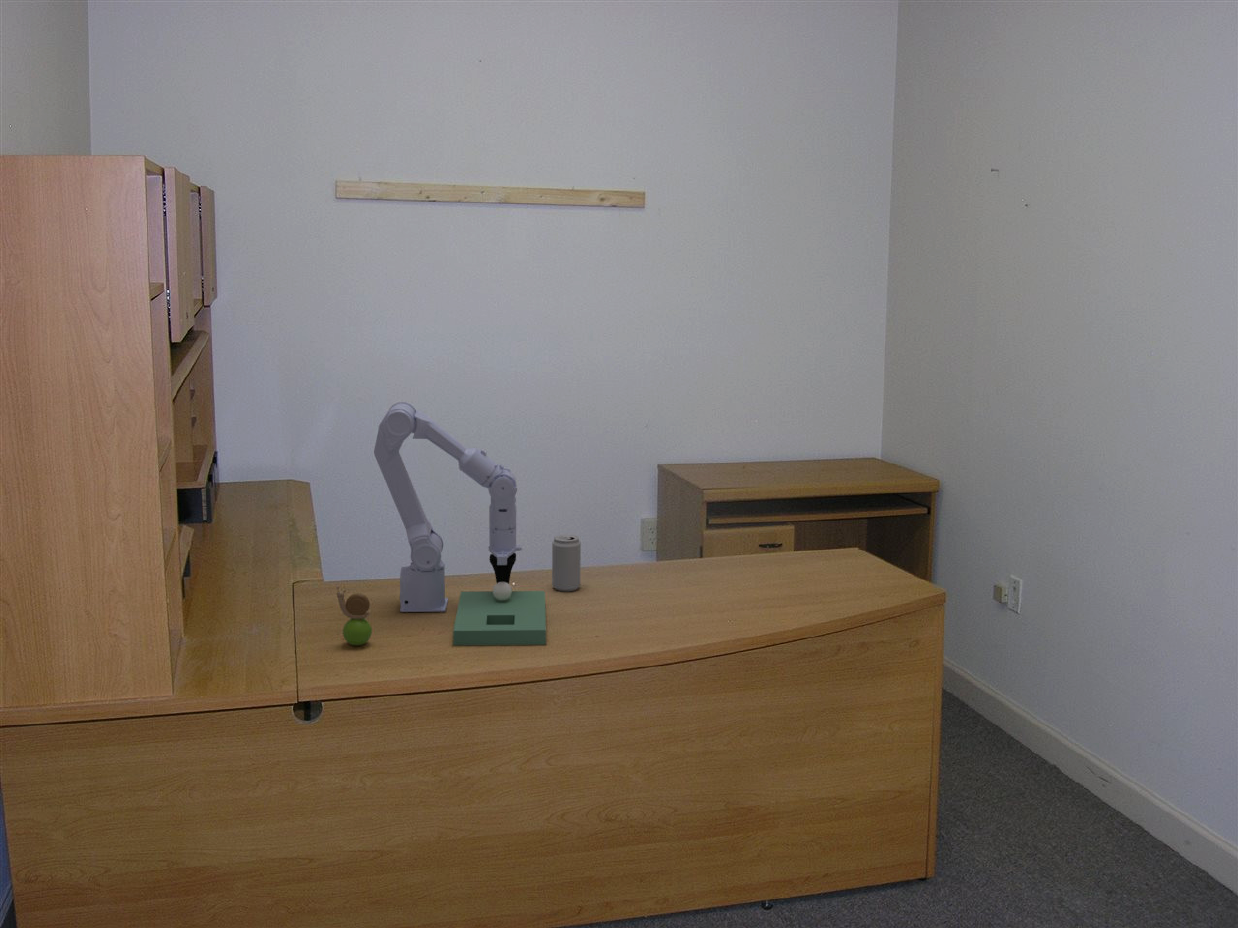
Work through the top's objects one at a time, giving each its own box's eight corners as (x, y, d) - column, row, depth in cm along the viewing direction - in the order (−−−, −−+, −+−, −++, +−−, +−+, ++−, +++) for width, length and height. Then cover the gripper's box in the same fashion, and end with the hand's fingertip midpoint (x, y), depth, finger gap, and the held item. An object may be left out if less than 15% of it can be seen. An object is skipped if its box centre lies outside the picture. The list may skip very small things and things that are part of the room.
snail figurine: (340, 639, 215) (338, 581, 213) (373, 639, 216) (372, 581, 213) (336, 649, 210) (333, 590, 208) (370, 649, 211) (368, 589, 208)
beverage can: (576, 593, 246) (577, 542, 243) (548, 591, 247) (549, 539, 245) (583, 584, 252) (583, 534, 249) (556, 582, 253) (556, 532, 251)
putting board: (453, 645, 213) (453, 630, 213) (461, 604, 237) (461, 591, 236) (545, 644, 215) (545, 630, 214) (544, 604, 238) (544, 590, 238)
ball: (492, 603, 229) (492, 585, 228) (493, 597, 233) (493, 579, 232) (511, 603, 229) (511, 585, 228) (511, 597, 233) (511, 579, 232)
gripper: (521, 535, 227) (521, 598, 229) (521, 517, 241) (521, 577, 244) (487, 535, 226) (487, 598, 229) (489, 518, 240) (489, 577, 243)
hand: (502, 587), depth 236 cm, fingers closed
